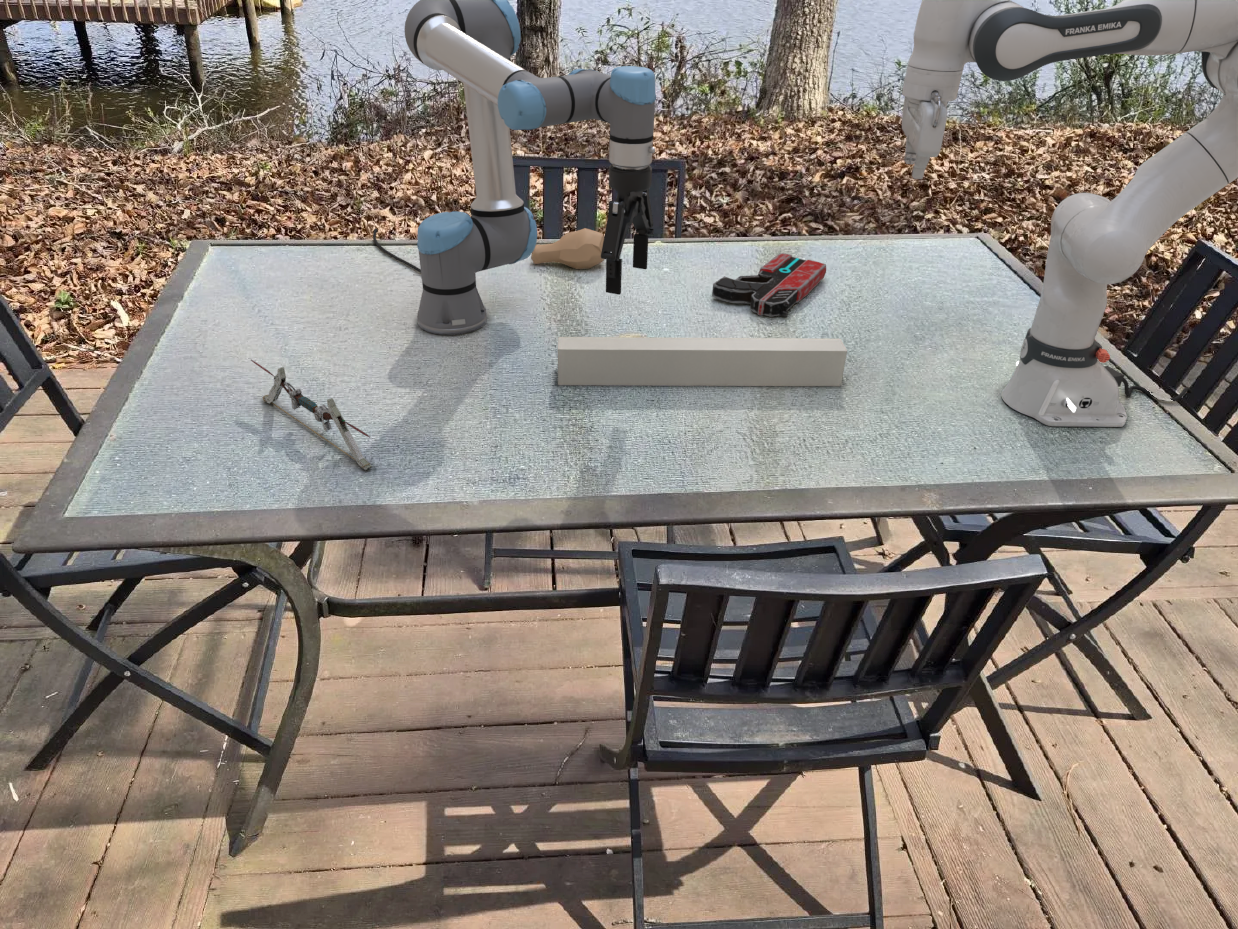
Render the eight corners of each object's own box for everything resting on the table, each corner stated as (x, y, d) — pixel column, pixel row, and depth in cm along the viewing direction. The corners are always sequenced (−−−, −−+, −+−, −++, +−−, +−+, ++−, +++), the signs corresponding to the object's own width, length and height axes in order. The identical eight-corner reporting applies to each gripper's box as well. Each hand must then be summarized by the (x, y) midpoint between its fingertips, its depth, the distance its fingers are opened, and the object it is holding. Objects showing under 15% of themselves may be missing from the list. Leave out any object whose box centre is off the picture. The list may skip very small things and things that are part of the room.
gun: (708, 284, 207) (784, 305, 199) (760, 245, 229) (831, 262, 221) (706, 302, 209) (781, 323, 201) (758, 261, 231) (828, 278, 223)
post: (558, 385, 174) (557, 349, 169) (558, 372, 178) (558, 336, 174) (840, 386, 176) (847, 350, 172) (834, 373, 181) (840, 338, 176)
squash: (609, 272, 224) (605, 241, 218) (532, 279, 226) (525, 248, 219) (610, 251, 232) (605, 220, 226) (535, 258, 233) (529, 227, 227)
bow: (382, 473, 146) (374, 421, 141) (372, 477, 145) (364, 425, 140) (264, 393, 168) (253, 345, 162) (255, 396, 167) (243, 348, 161)
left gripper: (624, 185, 142) (620, 307, 154) (674, 150, 161) (667, 261, 173) (581, 179, 144) (581, 300, 156) (636, 145, 163) (632, 255, 175)
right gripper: (962, 99, 137) (941, 188, 144) (940, 75, 153) (922, 156, 161) (921, 96, 137) (902, 185, 145) (903, 73, 154) (887, 154, 162)
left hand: (627, 280), depth 165 cm, fingers open, 13 cm apart
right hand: (912, 170), depth 153 cm, fingers open, 8 cm apart
